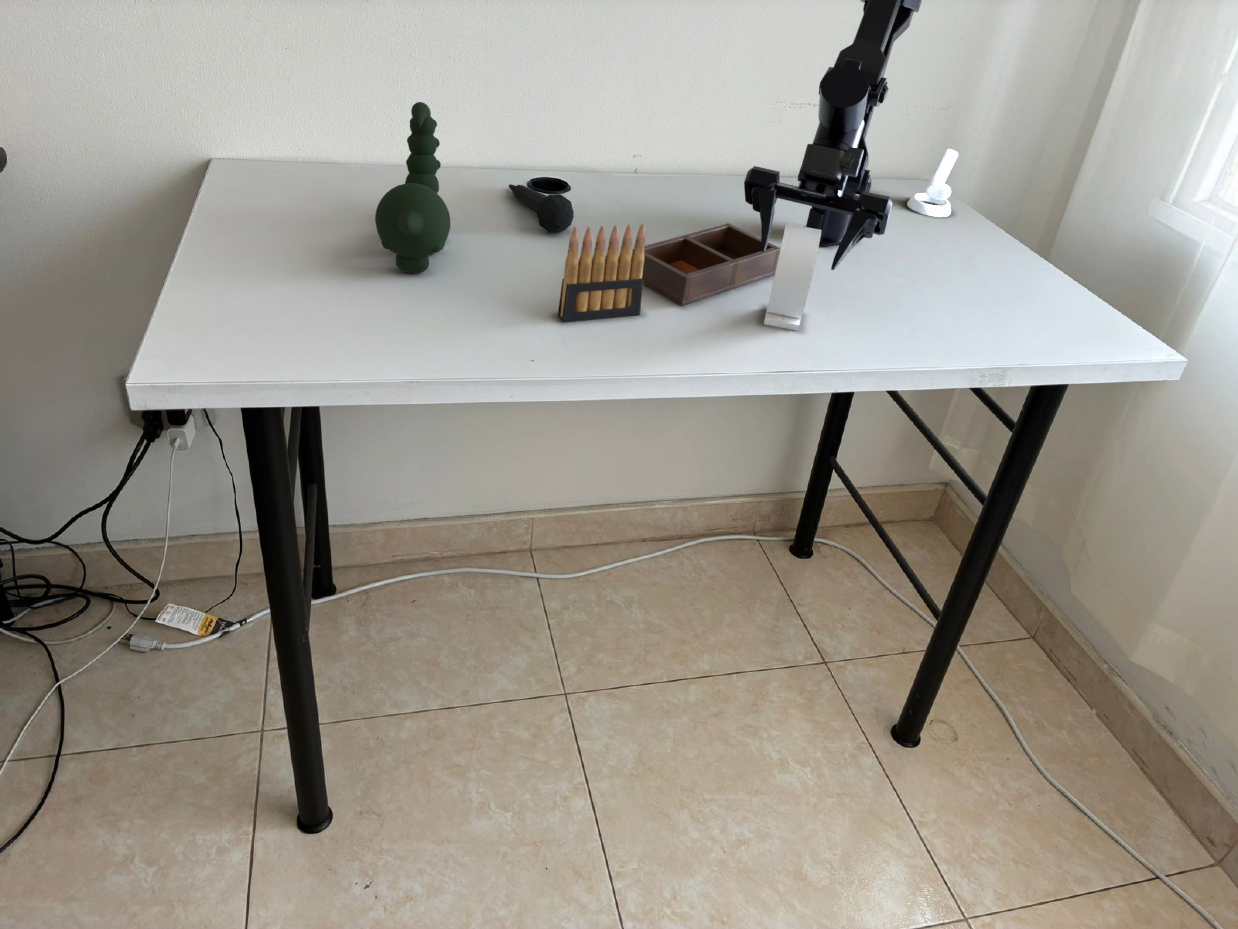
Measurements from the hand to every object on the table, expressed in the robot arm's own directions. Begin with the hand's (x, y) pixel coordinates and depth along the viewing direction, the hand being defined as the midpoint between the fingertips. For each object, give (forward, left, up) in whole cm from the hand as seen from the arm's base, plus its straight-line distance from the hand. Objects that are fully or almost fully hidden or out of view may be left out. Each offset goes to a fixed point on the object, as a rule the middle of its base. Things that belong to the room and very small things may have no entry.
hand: (797, 259), depth 121 cm
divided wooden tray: (+2, -15, -8) cm, 17 cm away
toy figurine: (+37, -35, -9) cm, 51 cm away
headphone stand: (+1, 0, -9) cm, 9 cm away
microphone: (+14, -42, -9) cm, 45 cm away
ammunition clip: (+23, -10, -9) cm, 26 cm away
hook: (-55, -24, -9) cm, 60 cm away
